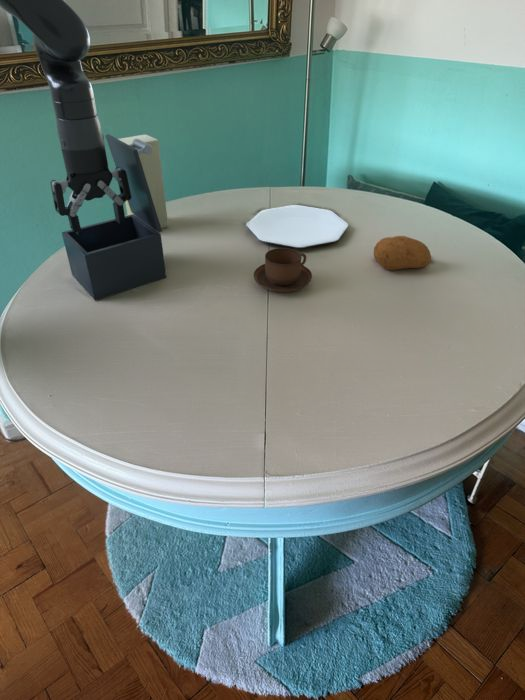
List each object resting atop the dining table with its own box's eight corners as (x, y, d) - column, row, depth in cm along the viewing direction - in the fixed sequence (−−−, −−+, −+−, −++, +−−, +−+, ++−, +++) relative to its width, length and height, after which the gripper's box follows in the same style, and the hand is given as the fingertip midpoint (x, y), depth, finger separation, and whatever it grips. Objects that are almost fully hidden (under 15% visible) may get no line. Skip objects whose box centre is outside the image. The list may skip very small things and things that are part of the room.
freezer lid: (133, 151, 92) (158, 141, 94) (104, 135, 101) (128, 126, 102) (158, 232, 103) (181, 222, 105) (131, 212, 112) (152, 203, 114)
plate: (362, 241, 124) (363, 235, 123) (271, 258, 117) (271, 252, 116) (318, 206, 141) (318, 200, 140) (236, 219, 134) (236, 213, 133)
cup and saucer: (273, 263, 115) (274, 238, 111) (321, 278, 109) (323, 251, 106) (242, 286, 107) (241, 259, 103) (292, 303, 101) (293, 276, 98)
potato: (366, 262, 115) (372, 230, 112) (421, 263, 117) (428, 233, 114) (376, 273, 109) (382, 240, 106) (433, 275, 111) (441, 243, 107)
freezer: (95, 300, 102) (84, 255, 96) (72, 275, 111) (61, 232, 105) (166, 277, 110) (160, 234, 104) (140, 255, 118) (133, 213, 112)
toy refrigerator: (155, 217, 135) (144, 132, 123) (169, 226, 131) (159, 139, 118) (127, 224, 132) (113, 138, 119) (140, 234, 127) (126, 145, 114)
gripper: (111, 131, 98) (125, 213, 108) (35, 144, 92) (57, 230, 101) (128, 140, 93) (140, 225, 103) (49, 154, 87) (70, 243, 96)
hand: (99, 227), depth 102 cm, fingers open, 8 cm apart
